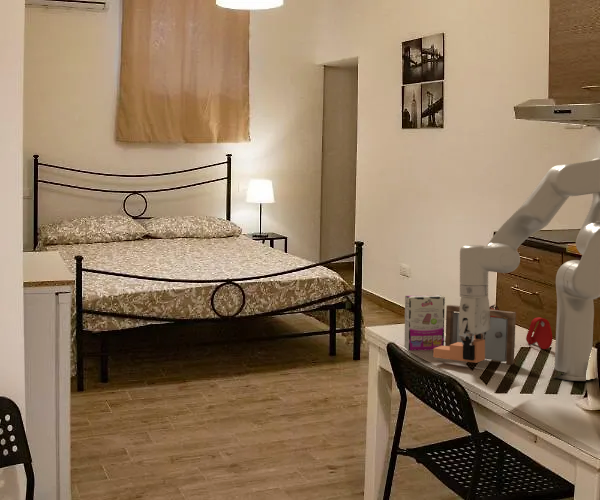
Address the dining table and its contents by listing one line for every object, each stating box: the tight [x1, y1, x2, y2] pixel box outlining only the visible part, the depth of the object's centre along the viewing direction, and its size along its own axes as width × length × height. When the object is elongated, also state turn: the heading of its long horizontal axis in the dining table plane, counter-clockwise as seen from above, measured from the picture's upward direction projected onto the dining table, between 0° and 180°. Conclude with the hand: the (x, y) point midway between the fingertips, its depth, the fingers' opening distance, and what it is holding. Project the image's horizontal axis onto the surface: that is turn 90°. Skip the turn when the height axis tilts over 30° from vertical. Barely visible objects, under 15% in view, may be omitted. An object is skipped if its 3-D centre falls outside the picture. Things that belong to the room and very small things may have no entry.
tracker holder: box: [525, 316, 553, 350], centre depth 257 cm, size 12×4×10 cm, turn 16°
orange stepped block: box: [432, 338, 486, 363], centre depth 230 cm, size 5×13×6 cm, turn 52°
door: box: [452, 312, 508, 363], centre depth 239 cm, size 17×3×12 cm, turn 52°
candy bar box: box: [403, 294, 446, 351], centre depth 252 cm, size 11×5×16 cm, turn 101°
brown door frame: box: [444, 304, 517, 366], centre depth 239 cm, size 20×2×14 cm, turn 52°
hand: (473, 357), depth 227 cm, fingers closed on orange stepped block, 5 cm apart
